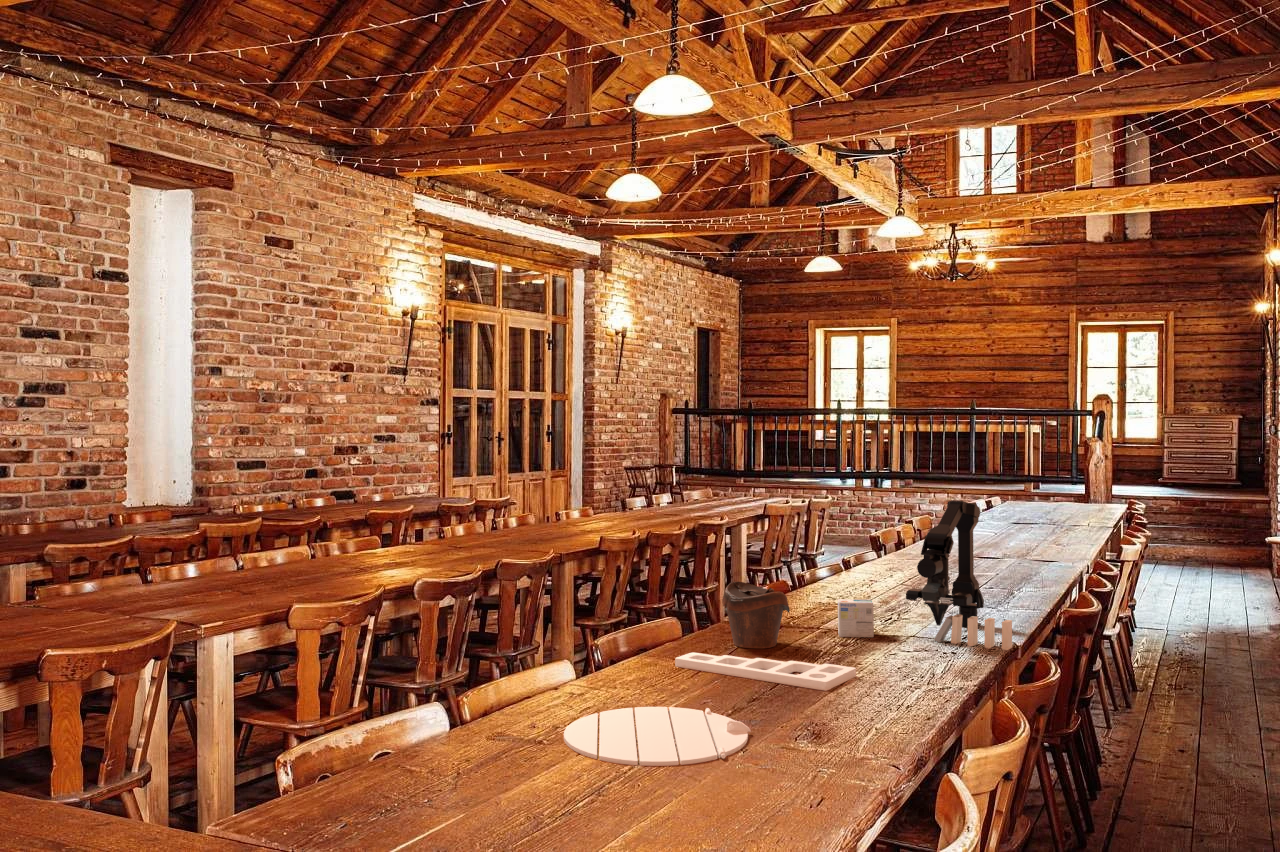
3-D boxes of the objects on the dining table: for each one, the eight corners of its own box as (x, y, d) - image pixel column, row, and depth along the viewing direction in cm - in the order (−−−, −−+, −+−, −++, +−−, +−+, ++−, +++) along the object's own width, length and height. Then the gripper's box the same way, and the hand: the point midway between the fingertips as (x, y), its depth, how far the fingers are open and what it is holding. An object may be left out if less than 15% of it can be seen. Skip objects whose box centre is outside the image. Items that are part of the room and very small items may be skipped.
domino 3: (972, 642, 321) (972, 616, 321) (977, 643, 320) (977, 616, 320) (967, 645, 317) (967, 618, 317) (972, 646, 316) (973, 618, 316)
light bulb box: (871, 633, 335) (871, 598, 335) (874, 637, 328) (874, 602, 328) (837, 632, 336) (837, 598, 336) (838, 637, 329) (838, 602, 329)
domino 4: (989, 644, 318) (989, 617, 318) (994, 645, 317) (994, 618, 317) (984, 647, 314) (984, 620, 314) (990, 648, 313) (990, 620, 313)
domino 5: (1006, 646, 315) (1006, 619, 315) (1011, 647, 314) (1011, 620, 314) (1001, 649, 311) (1001, 622, 311) (1007, 650, 310) (1007, 622, 310)
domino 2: (955, 640, 324) (957, 614, 323) (960, 641, 323) (962, 615, 322) (950, 643, 320) (952, 616, 320) (956, 644, 319) (957, 617, 319)
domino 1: (939, 636, 326) (951, 615, 323) (943, 639, 325) (956, 618, 322) (934, 639, 322) (946, 617, 320) (938, 642, 321) (951, 620, 319)
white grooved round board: (739, 710, 250) (739, 696, 250) (764, 766, 211) (764, 748, 211) (567, 712, 248) (567, 697, 248) (560, 768, 209) (559, 751, 209)
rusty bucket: (788, 652, 308) (787, 589, 308) (718, 649, 312) (718, 588, 312) (791, 640, 326) (791, 581, 326) (726, 638, 330) (725, 579, 330)
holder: (674, 668, 292) (674, 658, 292) (709, 655, 307) (709, 646, 307) (826, 692, 266) (826, 682, 266) (856, 678, 281) (856, 667, 281)
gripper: (898, 574, 323) (898, 626, 323) (960, 579, 312) (960, 633, 312) (912, 569, 332) (912, 620, 332) (972, 575, 321) (972, 627, 321)
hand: (938, 625), depth 324 cm, fingers closed
